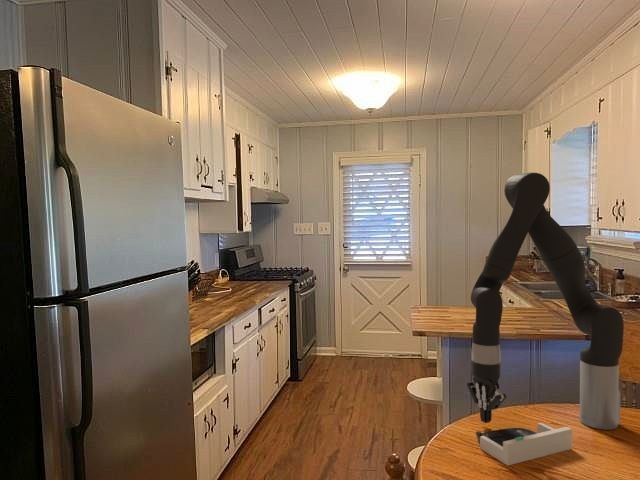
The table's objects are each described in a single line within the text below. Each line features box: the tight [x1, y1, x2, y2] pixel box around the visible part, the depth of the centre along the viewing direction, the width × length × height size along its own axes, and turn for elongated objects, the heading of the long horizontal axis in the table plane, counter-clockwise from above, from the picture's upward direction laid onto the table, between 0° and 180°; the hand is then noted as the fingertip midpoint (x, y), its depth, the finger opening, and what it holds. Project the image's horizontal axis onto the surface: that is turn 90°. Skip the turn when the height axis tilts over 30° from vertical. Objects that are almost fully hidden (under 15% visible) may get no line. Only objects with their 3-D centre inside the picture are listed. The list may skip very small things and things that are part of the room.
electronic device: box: [475, 427, 538, 447], centre depth 121 cm, size 9×6×15 cm
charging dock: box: [479, 422, 573, 466], centre depth 118 cm, size 20×9×6 cm, turn 112°
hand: (485, 421), depth 130 cm, fingers closed
